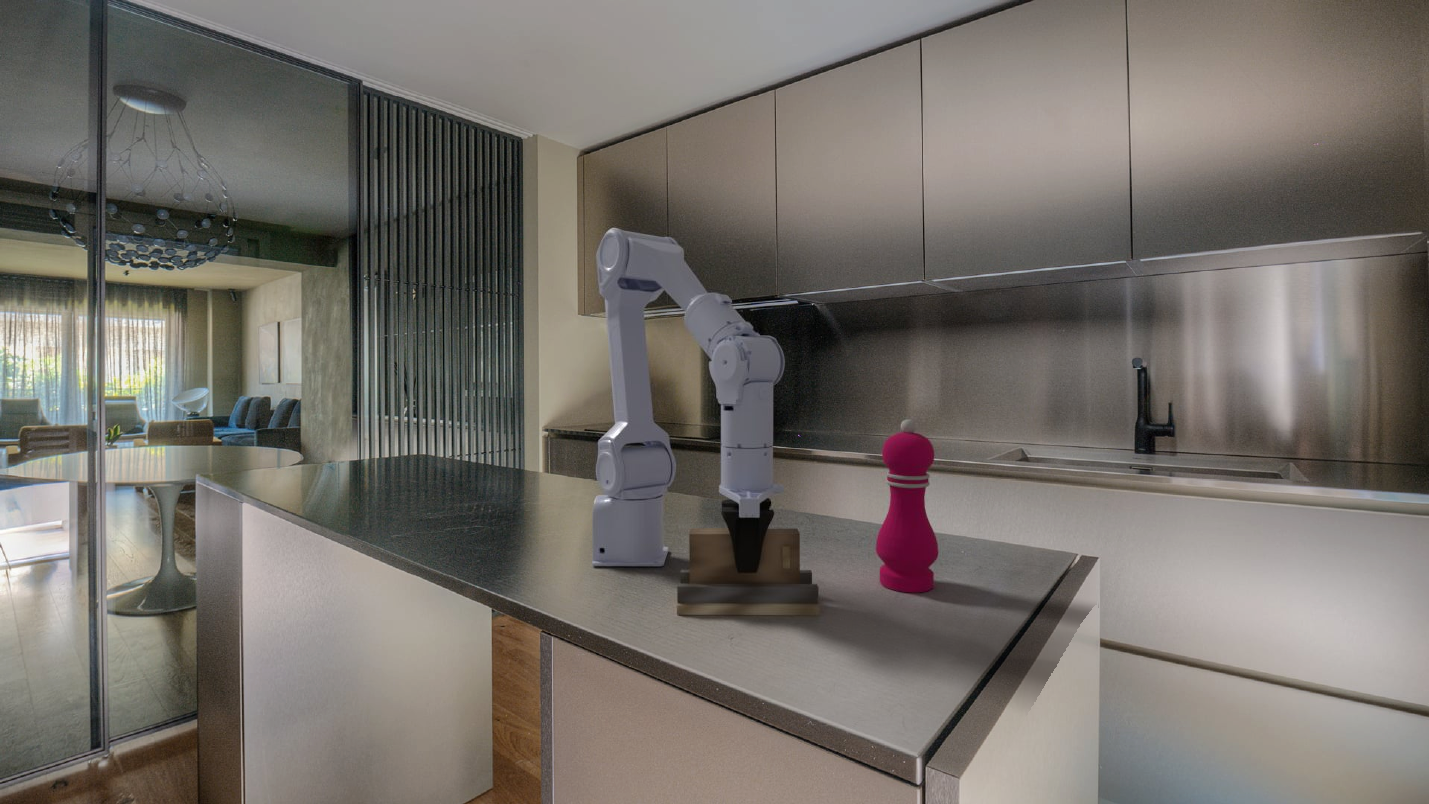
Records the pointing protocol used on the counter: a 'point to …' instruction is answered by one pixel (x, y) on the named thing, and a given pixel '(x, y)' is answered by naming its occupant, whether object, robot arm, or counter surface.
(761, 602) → the track board
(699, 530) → the door panel
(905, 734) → the counter surface
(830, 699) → the counter surface
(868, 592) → the counter surface
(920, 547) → the pepper mill
